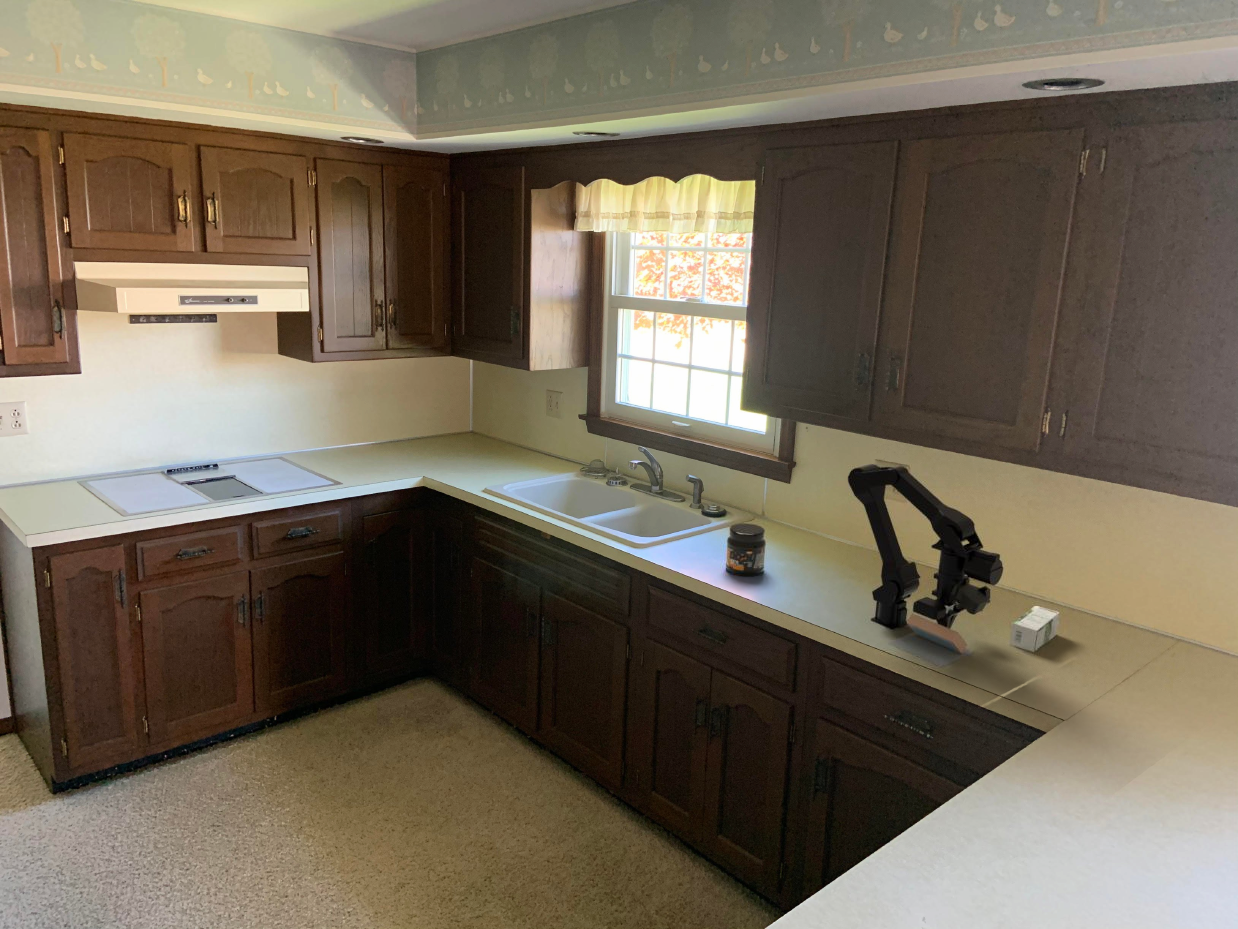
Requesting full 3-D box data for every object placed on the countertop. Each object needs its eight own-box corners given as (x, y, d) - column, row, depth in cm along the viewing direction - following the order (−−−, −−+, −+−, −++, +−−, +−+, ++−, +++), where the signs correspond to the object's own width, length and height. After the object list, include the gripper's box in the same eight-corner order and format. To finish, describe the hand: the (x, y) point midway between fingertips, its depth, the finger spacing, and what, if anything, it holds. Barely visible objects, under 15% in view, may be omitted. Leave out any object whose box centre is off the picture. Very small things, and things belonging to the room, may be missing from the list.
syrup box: (1008, 645, 207) (1031, 626, 217) (1035, 654, 203) (1057, 634, 213) (1011, 622, 205) (1034, 604, 216) (1038, 630, 201) (1060, 611, 212)
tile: (915, 634, 210) (906, 622, 207) (921, 625, 211) (911, 613, 207) (961, 654, 201) (952, 642, 198) (967, 644, 202) (958, 632, 198)
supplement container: (717, 567, 249) (719, 526, 246) (746, 560, 255) (749, 520, 252) (742, 580, 241) (745, 537, 238) (772, 572, 247) (775, 531, 243)
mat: (887, 644, 206) (887, 642, 206) (919, 631, 213) (919, 629, 213) (941, 668, 195) (941, 667, 195) (972, 654, 202) (972, 652, 202)
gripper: (959, 593, 191) (952, 659, 195) (1008, 572, 202) (999, 636, 206) (914, 576, 199) (908, 640, 203) (963, 558, 210) (956, 619, 214)
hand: (944, 634), depth 207 cm, fingers closed
